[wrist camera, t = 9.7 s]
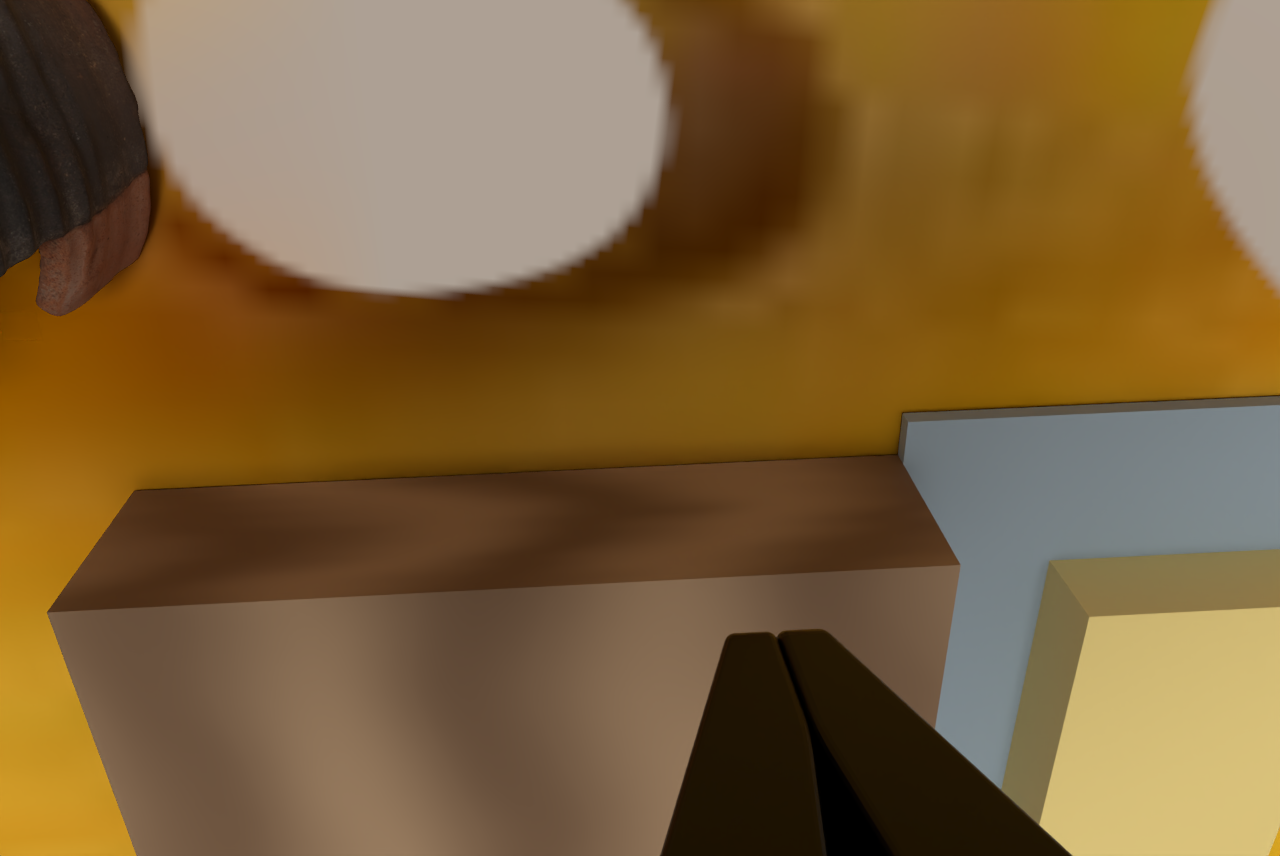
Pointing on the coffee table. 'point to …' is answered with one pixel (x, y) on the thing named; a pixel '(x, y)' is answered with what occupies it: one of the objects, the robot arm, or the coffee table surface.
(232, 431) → the coffee table surface
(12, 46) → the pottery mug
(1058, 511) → the mat
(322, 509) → the deck
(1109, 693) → the bevelled yellow tile
